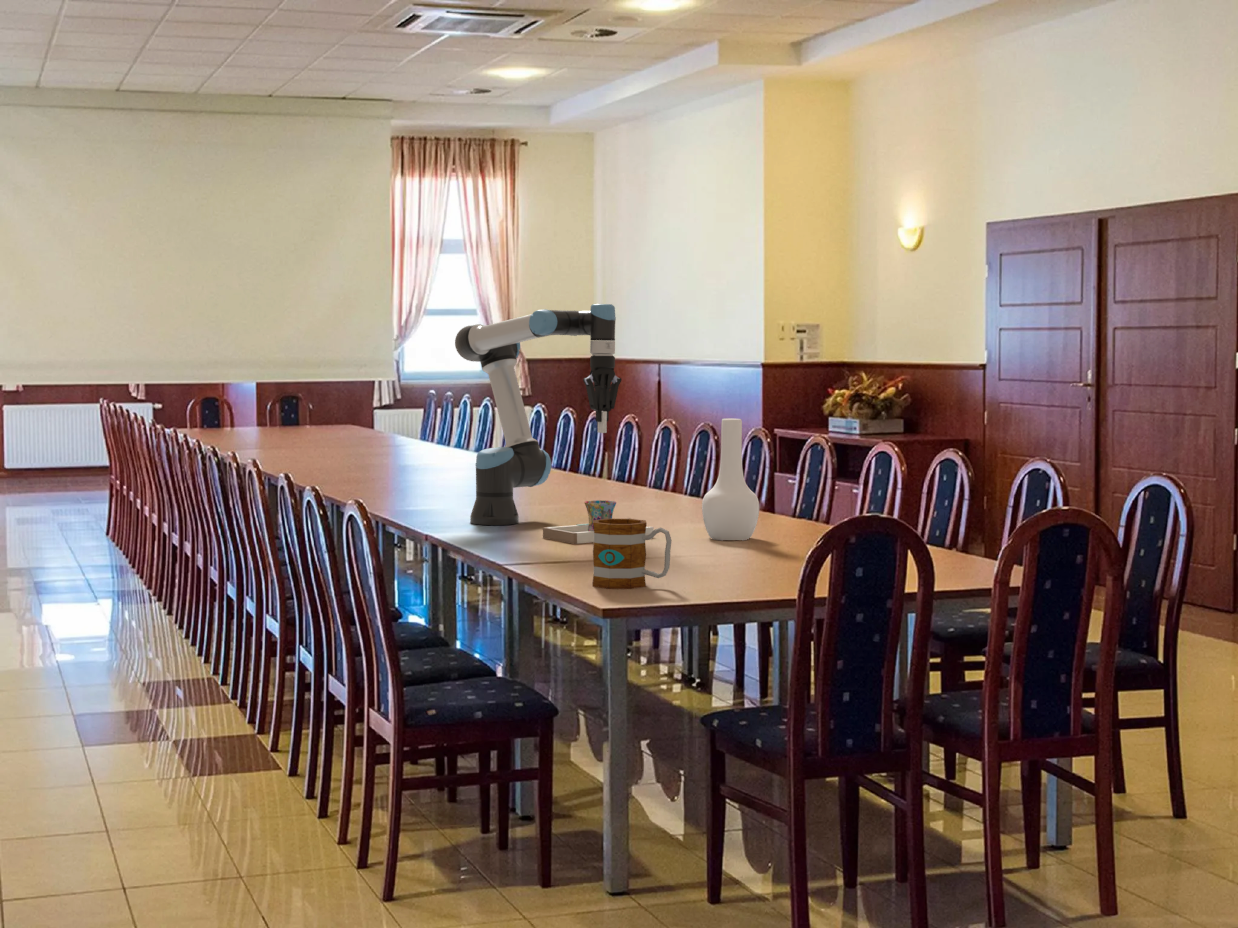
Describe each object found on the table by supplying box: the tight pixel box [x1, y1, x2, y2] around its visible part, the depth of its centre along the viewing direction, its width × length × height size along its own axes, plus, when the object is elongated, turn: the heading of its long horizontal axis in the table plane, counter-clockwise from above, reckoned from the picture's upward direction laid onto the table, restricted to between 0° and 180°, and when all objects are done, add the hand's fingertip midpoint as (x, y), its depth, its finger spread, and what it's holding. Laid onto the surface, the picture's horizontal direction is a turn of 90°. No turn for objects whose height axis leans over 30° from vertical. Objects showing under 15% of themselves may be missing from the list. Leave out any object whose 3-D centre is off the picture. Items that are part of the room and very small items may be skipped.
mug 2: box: [592, 518, 673, 590], centre depth 374 cm, size 20×14×15 cm
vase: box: [701, 418, 760, 541], centre depth 464 cm, size 17×17×35 cm
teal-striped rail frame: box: [542, 523, 655, 545], centre depth 465 cm, size 22×28×3 cm
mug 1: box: [584, 499, 617, 531], centre depth 464 cm, size 12×9×11 cm
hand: (602, 432), depth 485 cm, fingers closed
